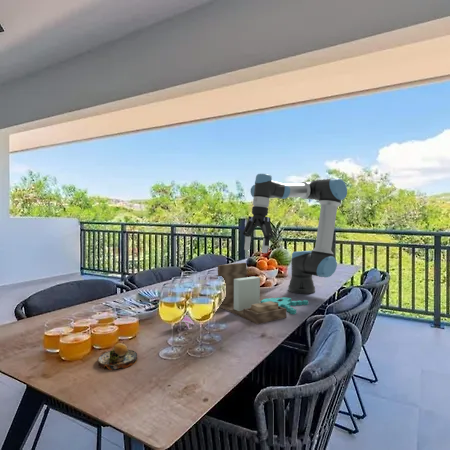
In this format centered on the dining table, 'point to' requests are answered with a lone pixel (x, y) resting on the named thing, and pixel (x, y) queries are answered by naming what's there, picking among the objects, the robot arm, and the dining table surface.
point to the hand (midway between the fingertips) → (255, 251)
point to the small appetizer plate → (117, 358)
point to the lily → (187, 320)
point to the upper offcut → (264, 307)
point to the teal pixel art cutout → (286, 303)
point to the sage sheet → (246, 292)
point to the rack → (229, 275)
